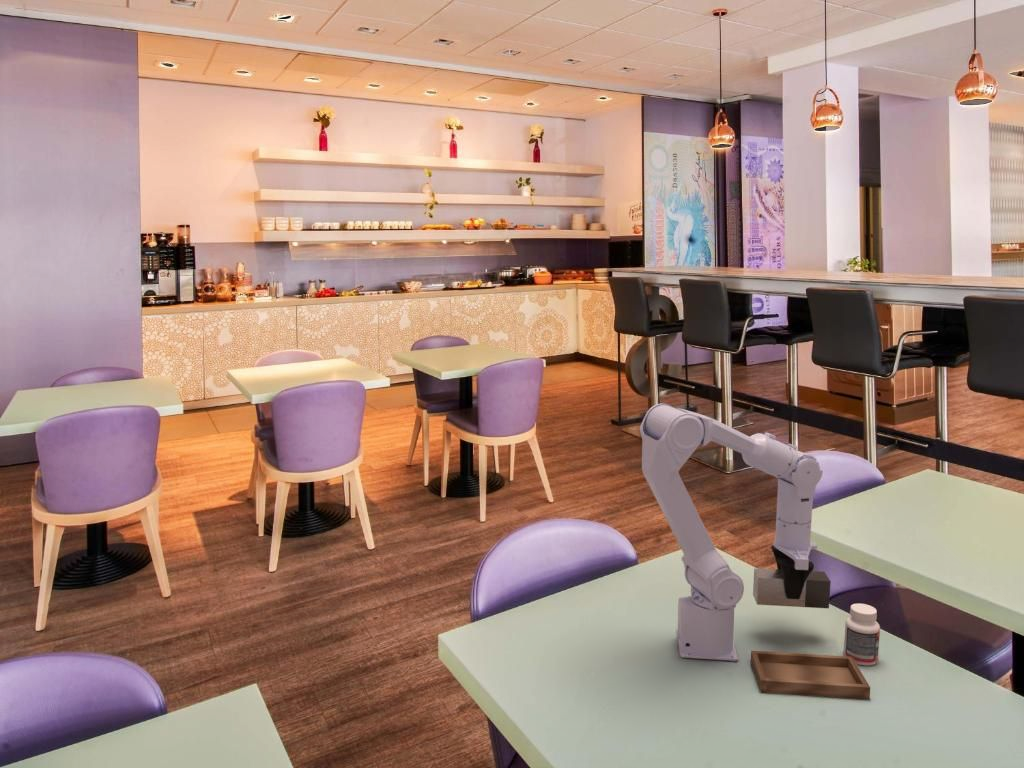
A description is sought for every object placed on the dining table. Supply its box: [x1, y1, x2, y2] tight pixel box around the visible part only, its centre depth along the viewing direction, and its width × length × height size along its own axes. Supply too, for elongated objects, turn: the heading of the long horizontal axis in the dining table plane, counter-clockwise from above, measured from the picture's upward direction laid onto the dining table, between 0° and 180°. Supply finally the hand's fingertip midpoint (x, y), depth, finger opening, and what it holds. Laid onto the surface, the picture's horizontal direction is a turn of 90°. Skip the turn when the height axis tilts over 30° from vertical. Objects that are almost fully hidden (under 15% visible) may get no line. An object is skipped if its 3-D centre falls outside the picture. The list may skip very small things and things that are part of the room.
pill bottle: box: [843, 603, 881, 667], centre depth 123 cm, size 5×5×9 cm
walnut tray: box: [749, 650, 871, 701], centre depth 117 cm, size 16×9×2 cm, turn 82°
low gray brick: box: [752, 567, 831, 609], centre depth 130 cm, size 12×4×5 cm, turn 82°
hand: (789, 592), depth 130 cm, fingers closed on low gray brick, 4 cm apart
